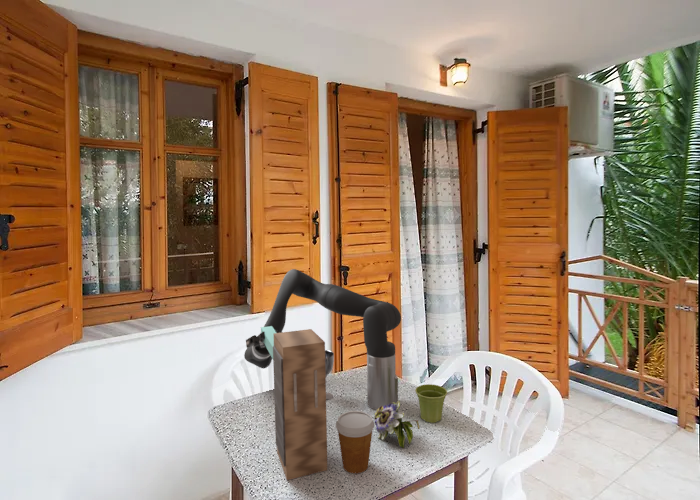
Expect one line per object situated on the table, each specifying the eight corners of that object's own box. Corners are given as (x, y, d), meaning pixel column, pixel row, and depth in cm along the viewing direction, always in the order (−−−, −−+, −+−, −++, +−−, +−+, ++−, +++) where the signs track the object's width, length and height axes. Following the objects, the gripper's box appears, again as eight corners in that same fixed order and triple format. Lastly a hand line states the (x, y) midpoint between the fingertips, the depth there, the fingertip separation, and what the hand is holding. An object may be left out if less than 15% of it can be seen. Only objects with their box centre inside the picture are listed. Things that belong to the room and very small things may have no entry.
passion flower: (381, 456, 112) (363, 414, 117) (413, 440, 117) (395, 400, 121) (394, 453, 103) (375, 407, 108) (429, 436, 107) (409, 392, 112)
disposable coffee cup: (335, 455, 104) (334, 411, 103) (371, 453, 105) (371, 409, 104) (337, 479, 95) (336, 430, 94) (377, 476, 95) (377, 428, 94)
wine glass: (339, 394, 140) (338, 352, 138) (325, 403, 133) (324, 359, 132) (320, 389, 144) (319, 348, 143) (306, 398, 137) (305, 355, 136)
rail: (272, 336, 133) (271, 326, 133) (287, 361, 111) (287, 348, 111) (261, 338, 132) (260, 327, 132) (274, 363, 110) (274, 350, 110)
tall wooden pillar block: (313, 444, 109) (311, 329, 107) (327, 471, 98) (325, 342, 95) (275, 452, 106) (271, 333, 103) (285, 481, 94) (281, 348, 91)
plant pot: (447, 427, 117) (447, 398, 116) (414, 424, 119) (414, 396, 118) (446, 412, 126) (446, 385, 125) (416, 409, 128) (416, 383, 127)
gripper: (241, 338, 139) (246, 324, 124) (282, 333, 144) (291, 319, 130) (243, 360, 136) (248, 349, 122) (285, 354, 141) (294, 343, 127)
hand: (270, 334), depth 126 cm, fingers closed on rail, 3 cm apart
